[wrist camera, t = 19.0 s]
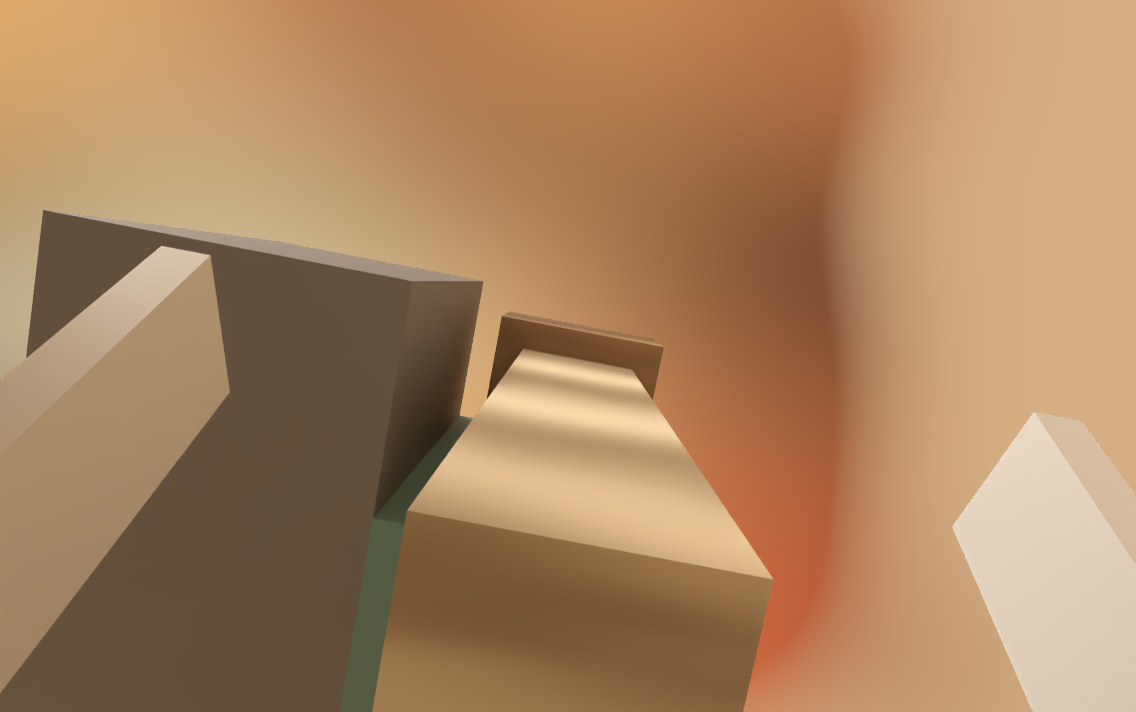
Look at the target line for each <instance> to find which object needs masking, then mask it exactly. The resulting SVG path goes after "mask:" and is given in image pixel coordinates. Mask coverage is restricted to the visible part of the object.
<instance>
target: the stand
mask: <svg viewBox="0 0 1136 712" xmlns="http://www.w3.org/2000/svg"><path fill="white" fill-rule="evenodd" d="M161 246H164V247H170V248H175V249H180V250H185V251H191V252H196V253H201V254H206V255H211V262H212V269H213V276H214V283H215V290H216V297H217V304H218V311H219V318H220V325H221V332H222V340H223V347H224V354H225V361H226V368H227V375H228V382H229V389H230V393H229V394H228V395H227V396H226V398H225V399H224V400H223V402H222V403H221V404H220V406H219V407H218V408H217V410H216V411H215V412H214V414H213V415H212V416H211V417H210V419H209V420H208V421H207V423H206V424H205V425H204V427H203V428H202V429H201V431H200V432H199V433H198V434H197V436H196V437H195V438H194V440H193V441H192V442H191V444H190V445H189V446H188V448H187V449H186V450H185V452H184V453H183V454H182V455H181V457H180V458H179V459H178V461H177V462H176V463H175V465H174V466H173V467H172V469H171V470H170V471H169V473H168V474H167V475H166V476H165V478H164V479H163V480H162V482H161V483H160V484H159V486H158V487H157V488H156V490H155V491H154V492H153V494H152V495H151V496H150V497H149V499H148V500H147V501H146V503H145V504H144V505H143V507H142V508H141V509H140V511H139V512H138V513H137V515H136V516H135V517H134V518H133V520H132V521H131V522H130V524H129V525H128V526H127V528H126V529H125V530H124V532H123V533H122V534H121V535H120V537H119V538H118V539H117V541H116V542H115V543H114V545H113V546H112V547H111V549H110V550H109V551H108V553H107V554H106V555H105V556H104V558H103V559H102V560H101V562H100V563H99V564H98V566H97V567H96V568H95V570H94V571H93V572H92V574H91V575H90V576H89V577H88V579H87V580H86V581H85V583H84V584H83V585H82V587H81V588H80V589H79V591H78V592H77V593H76V595H75V596H74V597H73V598H72V600H71V601H70V602H69V604H68V605H67V606H66V608H65V609H64V610H63V612H62V613H61V614H60V615H59V617H58V618H57V619H56V621H55V622H54V623H53V625H52V626H51V627H50V629H49V630H48V631H47V633H46V634H45V635H44V636H43V638H42V639H41V640H40V642H39V643H38V644H37V646H36V647H35V648H34V650H33V651H32V652H31V654H30V655H29V656H28V657H27V659H26V660H25V661H24V663H23V664H22V665H21V667H20V668H19V669H18V671H17V672H16V673H15V675H14V676H13V677H12V678H11V680H10V681H9V682H8V684H7V685H6V686H5V688H4V689H3V690H2V692H1V693H0V712H372V710H373V704H374V698H375V692H376V687H377V681H378V675H379V669H380V664H381V658H382V652H383V646H384V641H385V635H386V629H387V623H388V618H389V612H390V606H391V600H392V595H393V589H394V583H395V577H396V572H397V566H398V560H399V554H400V549H401V543H402V537H403V531H404V526H405V520H406V514H407V510H408V509H409V507H410V506H411V504H412V503H413V502H414V500H415V499H416V498H417V496H418V495H419V493H420V492H421V491H422V489H423V488H424V486H425V485H426V484H427V482H428V481H429V479H430V478H431V477H432V475H433V474H434V472H435V471H436V470H437V468H438V467H439V466H440V464H441V463H442V461H443V460H444V459H445V457H446V456H447V454H448V453H449V452H450V450H451V449H452V447H453V446H454V445H455V443H456V442H457V440H458V439H459V438H460V436H461V435H462V434H463V432H464V431H465V429H466V428H467V427H468V425H469V424H470V422H471V421H472V420H473V418H469V417H464V416H459V415H460V410H461V404H462V398H463V393H464V387H465V382H466V376H467V370H468V364H469V359H470V353H471V348H472V343H473V337H474V331H475V325H476V320H477V315H478V309H479V303H480V298H481V292H482V286H483V281H480V280H475V279H470V278H464V277H459V276H454V275H449V274H443V273H438V272H433V271H428V270H423V269H418V268H412V267H407V266H402V265H397V264H391V263H386V262H381V261H376V260H371V259H366V258H360V257H355V256H350V255H345V254H340V253H335V252H329V251H324V250H319V249H313V248H309V247H303V246H298V245H293V244H288V243H283V242H277V241H270V240H262V239H255V238H248V237H240V236H233V235H225V234H218V233H210V232H203V231H195V230H188V229H181V228H173V227H166V226H158V225H151V224H143V223H135V222H127V221H121V220H114V219H106V218H99V217H90V216H83V215H76V214H68V213H61V212H54V211H46V210H43V217H42V226H41V235H40V243H39V252H38V261H37V270H36V277H35V286H34V295H33V304H32V312H31V322H30V329H29V338H28V347H27V355H26V358H27V357H28V356H30V355H31V354H32V353H33V352H34V351H36V350H37V349H38V348H39V347H40V346H42V345H43V344H44V343H45V342H46V341H48V340H49V339H50V338H51V337H52V336H54V335H55V334H56V333H57V332H59V331H60V330H61V329H62V328H63V327H65V326H66V325H67V324H68V323H69V322H71V321H72V320H73V319H74V318H75V317H77V316H78V315H79V314H80V313H81V312H83V311H84V310H85V309H86V308H87V307H89V306H90V305H91V304H92V303H93V302H95V301H96V300H97V299H98V298H99V297H101V296H102V295H103V294H104V293H105V292H107V291H108V290H109V289H110V288H111V287H113V286H114V285H115V284H116V283H117V282H119V281H120V280H121V279H122V278H123V277H125V276H126V275H127V274H128V273H129V272H131V271H132V270H133V269H134V268H135V267H137V266H138V265H139V264H140V263H141V262H143V261H144V260H145V259H146V258H147V257H149V256H150V255H151V254H152V253H154V252H155V251H156V250H157V249H158V248H160V247H161Z"/></svg>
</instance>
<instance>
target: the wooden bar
mask: <svg viewBox="0 0 1136 712" xmlns="http://www.w3.org/2000/svg"><path fill="white" fill-rule="evenodd" d="M662 352H663V346H661V345H660V344H659V343H657V342H656V341H654V340H653V339H652V338H646V337H641V336H635V335H631V334H626V333H620V332H615V331H610V330H605V329H599V328H594V327H589V326H584V325H579V324H573V323H568V322H562V321H557V320H553V319H547V318H542V317H537V316H532V315H526V314H521V313H516V312H509V313H507V314H505V315H503V316H502V319H501V324H500V330H499V336H498V341H497V346H496V352H495V357H494V363H493V368H492V374H491V379H490V385H489V390H488V395H487V400H486V402H485V403H484V404H483V406H482V407H481V409H480V410H479V411H478V413H477V414H476V415H475V417H474V418H473V420H472V421H471V422H470V424H469V425H468V427H467V428H466V429H465V431H464V432H463V434H462V435H461V436H460V438H459V439H458V440H457V442H456V443H455V445H454V446H453V447H452V449H451V450H450V452H449V453H448V454H447V456H446V457H445V459H444V460H443V461H442V463H441V464H440V466H439V467H438V468H437V470H436V471H435V472H434V474H433V475H432V477H431V478H430V479H429V481H428V482H427V484H426V485H425V486H424V488H423V489H422V491H421V492H420V493H419V495H418V496H417V498H416V499H415V500H414V502H413V503H412V504H411V506H410V507H409V509H408V510H407V514H406V520H405V526H404V531H403V537H402V543H401V549H400V554H399V560H398V566H397V572H396V577H395V583H394V589H393V595H392V600H391V606H390V612H389V618H388V623H387V629H386V635H385V641H384V646H383V652H382V658H381V664H380V669H379V675H378V681H377V687H376V692H375V698H374V704H373V710H372V712H743V709H744V705H745V700H746V696H747V692H748V687H749V683H750V679H751V674H752V670H753V666H754V661H755V657H756V653H757V648H758V644H759V640H760V635H761V631H762V627H763V622H764V618H765V614H766V609H767V604H768V600H769V596H770V591H771V587H772V583H773V578H772V577H771V575H770V574H769V572H768V571H767V569H766V568H765V566H764V565H763V563H762V562H761V560H760V559H759V558H758V556H757V555H756V553H755V551H754V550H753V549H752V547H751V546H750V544H749V543H748V541H747V540H746V538H745V537H744V535H743V534H742V532H741V531H740V529H739V528H738V526H737V525H736V523H735V522H734V520H733V519H732V518H731V516H730V515H729V513H728V511H727V510H726V509H725V507H724V506H723V504H722V503H721V501H720V500H719V498H718V497H717V495H716V494H715V492H714V491H713V489H712V488H711V486H710V485H709V483H708V482H707V480H706V479H705V477H704V476H703V474H702V473H701V471H700V470H699V469H698V467H697V465H696V464H695V462H694V461H693V460H692V458H691V457H690V455H689V454H688V452H687V451H686V449H685V448H684V446H683V445H682V443H681V442H680V440H679V439H678V437H677V436H676V434H675V433H674V431H673V430H672V428H671V427H670V426H669V424H668V422H667V421H666V420H665V418H664V417H663V415H662V414H661V412H660V411H659V409H658V408H657V406H656V405H655V403H654V402H653V395H654V390H655V386H656V380H657V376H658V371H659V366H660V362H661V357H662Z"/></svg>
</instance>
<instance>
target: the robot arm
mask: <svg viewBox="0 0 1136 712" xmlns="http://www.w3.org/2000/svg"><path fill="white" fill-rule="evenodd" d="M229 393H230V389H229V382H228V375H227V368H226V361H225V354H224V347H223V340H222V332H221V325H220V318H219V311H218V304H217V297H216V290H215V283H214V276H213V269H212V262H211V255H206V254H201V253H196V252H191V251H185V250H180V249H175V248H170V247H164V246H161V247H160V248H158V249H157V250H156V251H155V252H154V253H152V254H151V255H150V256H149V257H147V258H146V259H145V260H144V261H143V262H141V263H140V264H139V265H138V266H137V267H135V268H134V269H133V270H132V271H131V272H129V273H128V274H127V275H126V276H125V277H123V278H122V279H121V280H120V281H119V282H117V283H116V284H115V285H114V286H113V287H111V288H110V289H109V290H108V291H107V292H105V293H104V294H103V295H102V296H101V297H99V298H98V299H97V300H96V301H95V302H93V303H92V304H91V305H90V306H89V307H87V308H86V309H85V310H84V311H83V312H81V313H80V314H79V315H78V316H77V317H75V318H74V319H73V320H72V321H71V322H69V323H68V324H67V325H66V326H65V327H63V328H62V329H61V330H60V331H59V332H57V333H56V334H55V335H54V336H52V337H51V338H50V339H49V340H48V341H46V342H45V343H44V344H43V345H42V346H40V347H39V348H38V349H37V350H36V351H34V352H33V353H32V354H31V355H30V356H28V357H27V358H26V359H25V360H24V361H23V362H21V363H20V364H19V365H18V366H16V367H15V368H14V369H13V370H12V371H11V372H9V373H8V374H7V375H6V376H4V377H3V378H2V379H1V380H0V693H1V692H2V690H3V689H4V688H5V686H6V685H7V684H8V682H9V681H10V680H11V678H12V677H13V676H14V675H15V673H16V672H17V671H18V669H19V668H20V667H21V665H22V664H23V663H24V661H25V660H26V659H27V657H28V656H29V655H30V654H31V652H32V651H33V650H34V648H35V647H36V646H37V644H38V643H39V642H40V640H41V639H42V638H43V636H44V635H45V634H46V633H47V631H48V630H49V629H50V627H51V626H52V625H53V623H54V622H55V621H56V619H57V618H58V617H59V615H60V614H61V613H62V612H63V610H64V609H65V608H66V606H67V605H68V604H69V602H70V601H71V600H72V598H73V597H74V596H75V595H76V593H77V592H78V591H79V589H80V588H81V587H82V585H83V584H84V583H85V581H86V580H87V579H88V577H89V576H90V575H91V574H92V572H93V571H94V570H95V568H96V567H97V566H98V564H99V563H100V562H101V560H102V559H103V558H104V556H105V555H106V554H107V553H108V551H109V550H110V549H111V547H112V546H113V545H114V543H115V542H116V541H117V539H118V538H119V537H120V535H121V534H122V533H123V532H124V530H125V529H126V528H127V526H128V525H129V524H130V522H131V521H132V520H133V518H134V517H135V516H136V515H137V513H138V512H139V511H140V509H141V508H142V507H143V505H144V504H145V503H146V501H147V500H148V499H149V497H150V496H151V495H152V494H153V492H154V491H155V490H156V488H157V487H158V486H159V484H160V483H161V482H162V480H163V479H164V478H165V476H166V475H167V474H168V473H169V471H170V470H171V469H172V467H173V466H174V465H175V463H176V462H177V461H178V459H179V458H180V457H181V455H182V454H183V453H184V452H185V450H186V449H187V448H188V446H189V445H190V444H191V442H192V441H193V440H194V438H195V437H196V436H197V434H198V433H199V432H200V431H201V429H202V428H203V427H204V425H205V424H206V423H207V421H208V420H209V419H210V417H211V416H212V415H213V414H214V412H215V411H216V410H217V408H218V407H219V406H220V404H221V403H222V402H223V400H224V399H225V398H226V396H227V395H228V394H229ZM953 530H954V532H955V534H956V537H957V539H958V541H959V543H960V546H961V548H962V550H963V553H964V555H965V557H966V560H967V562H968V564H969V567H970V569H971V571H972V573H973V576H974V578H975V580H976V582H977V585H978V587H979V590H980V592H981V594H982V596H983V598H984V601H985V603H986V606H987V608H988V610H989V613H990V615H991V617H992V619H993V622H994V624H995V626H996V629H997V631H998V633H999V636H1000V638H1001V640H1002V643H1003V645H1004V647H1005V649H1006V652H1007V654H1008V656H1009V659H1010V661H1011V663H1012V666H1013V668H1014V670H1015V672H1016V675H1017V677H1018V679H1019V682H1020V684H1021V686H1022V689H1023V691H1024V693H1025V695H1026V698H1027V700H1028V702H1029V705H1030V707H1031V709H1032V711H1033V712H1136V495H1135V494H1134V492H1133V491H1132V490H1131V488H1130V487H1129V485H1128V484H1127V483H1126V481H1125V480H1124V479H1123V477H1122V476H1121V475H1120V474H1119V472H1118V470H1117V469H1116V468H1115V466H1114V465H1113V464H1112V462H1111V461H1110V460H1109V458H1108V457H1107V456H1106V454H1105V453H1104V451H1103V450H1102V449H1101V447H1100V446H1099V445H1098V443H1097V442H1096V440H1095V439H1094V438H1093V436H1092V435H1091V434H1090V432H1089V431H1088V430H1087V428H1086V427H1085V426H1084V424H1083V423H1082V421H1079V420H1074V419H1068V418H1063V417H1058V416H1053V415H1048V414H1043V413H1037V412H1034V413H1033V414H1032V415H1031V417H1030V418H1029V420H1028V421H1027V423H1026V424H1025V425H1024V427H1023V428H1022V430H1021V431H1020V432H1019V434H1018V435H1017V437H1016V438H1015V440H1014V441H1013V442H1012V444H1011V445H1010V446H1009V448H1008V449H1007V451H1006V452H1005V454H1004V455H1003V456H1002V458H1001V459H1000V461H999V462H998V463H997V465H996V466H995V467H994V469H993V471H992V472H991V473H990V474H989V476H988V477H987V479H986V480H985V482H984V483H983V484H982V486H981V487H980V489H979V490H978V492H977V493H976V494H975V496H974V497H973V498H972V500H971V501H970V503H969V504H968V505H967V507H966V508H965V510H964V511H963V512H962V514H961V515H960V517H959V518H958V520H957V521H956V522H955V524H954V525H953Z"/></svg>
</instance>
